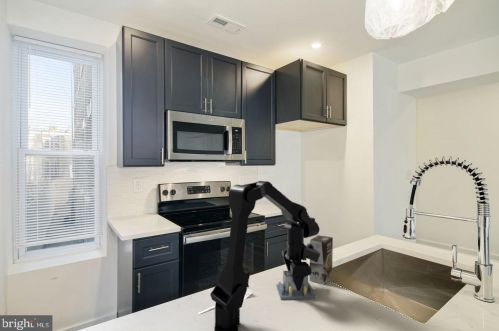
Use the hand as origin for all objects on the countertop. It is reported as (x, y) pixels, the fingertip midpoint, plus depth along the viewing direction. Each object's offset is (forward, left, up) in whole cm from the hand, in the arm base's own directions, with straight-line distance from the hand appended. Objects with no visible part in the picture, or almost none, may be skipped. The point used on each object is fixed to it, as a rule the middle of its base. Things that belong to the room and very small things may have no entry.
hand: (295, 283), depth 91 cm
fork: (-24, -5, -4) cm, 25 cm away
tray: (0, 0, -3) cm, 3 cm away
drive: (0, 0, -2) cm, 2 cm away
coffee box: (+13, +10, -3) cm, 17 cm away
